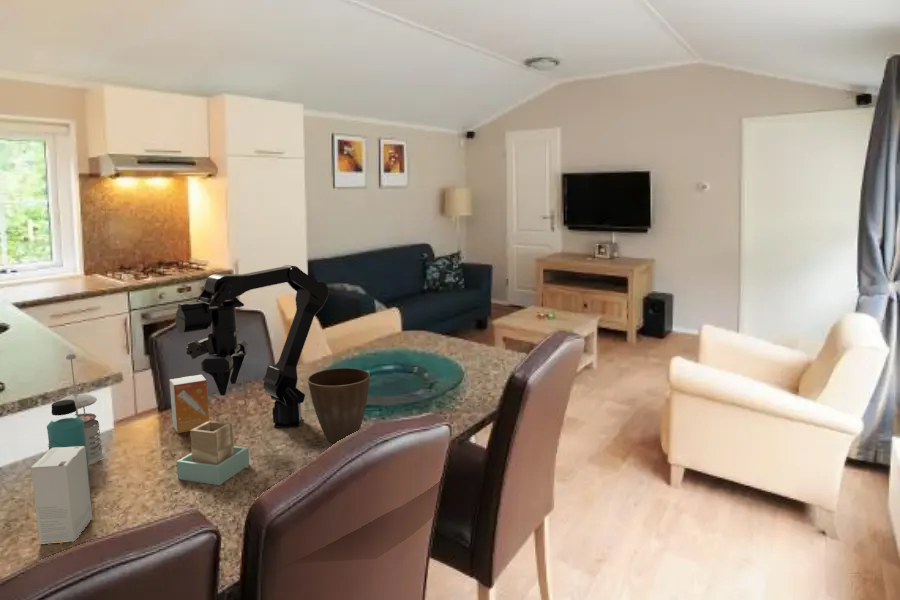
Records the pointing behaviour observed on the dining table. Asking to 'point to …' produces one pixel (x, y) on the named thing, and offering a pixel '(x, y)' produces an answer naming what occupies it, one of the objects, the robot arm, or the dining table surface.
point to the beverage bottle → (66, 428)
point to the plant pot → (339, 400)
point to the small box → (189, 402)
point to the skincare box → (61, 494)
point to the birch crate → (212, 442)
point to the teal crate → (213, 468)
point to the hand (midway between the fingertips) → (228, 389)
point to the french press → (87, 422)
